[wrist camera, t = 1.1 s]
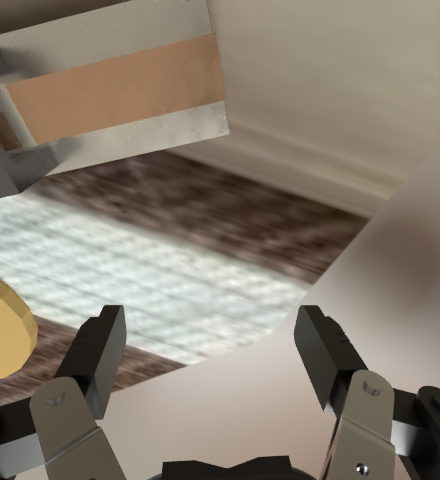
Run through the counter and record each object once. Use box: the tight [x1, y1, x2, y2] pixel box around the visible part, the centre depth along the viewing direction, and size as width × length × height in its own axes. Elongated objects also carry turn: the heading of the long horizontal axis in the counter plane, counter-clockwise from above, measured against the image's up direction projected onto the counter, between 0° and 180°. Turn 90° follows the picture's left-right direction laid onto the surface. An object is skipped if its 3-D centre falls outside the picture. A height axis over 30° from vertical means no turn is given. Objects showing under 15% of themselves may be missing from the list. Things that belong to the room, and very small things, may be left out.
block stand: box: [0, 0, 230, 198], centre depth 23 cm, size 12×31×9 cm, turn 102°
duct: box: [0, 33, 227, 152], centre depth 24 cm, size 5×20×5 cm, turn 102°
